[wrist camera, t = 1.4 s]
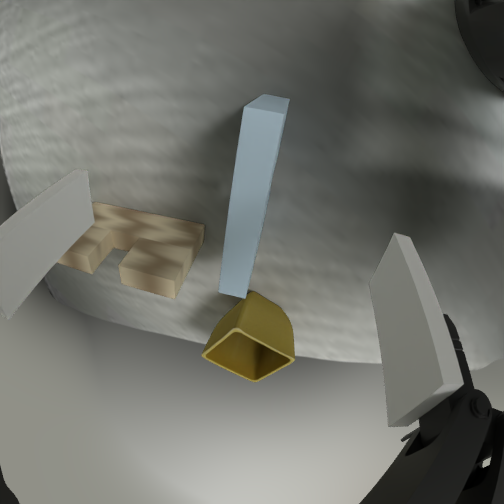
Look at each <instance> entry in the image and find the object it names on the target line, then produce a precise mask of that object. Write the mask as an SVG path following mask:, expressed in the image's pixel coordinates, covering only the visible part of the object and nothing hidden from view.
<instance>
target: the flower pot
mask: <svg viewBox="0 0 504 504" xmlns="http://www.w3.org/2000/svg"><path fill="white" fill-rule="evenodd" d="M201 356H202V357H203V358H205V359H207V360H208V361H210V362H212V363H214V364H216V365H218V366H220V367H222V368H224V369H226V370H228V371H230V372H232V373H235V374H236V375H239V376H241V377H243V378H245V379H247V380H250V381H252V382H258V381H260V380H262V379H264V378H265V377H267V376H269V375H271V374H273V373H274V372H276V371H278V370H280V369H282V368H284V367H286V366H288V365H289V364H291V363H292V362H293V361H295V352H294V337H293V329H292V325H291V322H290V320H289V318H288V317H287V315H286V314H285V312H284V311H283V310H282V309H281V308H280V307H279V306H277V305H276V304H274V303H272V302H271V301H269V300H267V299H266V298H264V297H263V296H261V295H259V294H258V293H256V292H254V291H252V292H250V293H249V294H247V295H246V299H245V298H243V299H242V300H241V301H240V302H239V303H238V304H237V305H236V306H235V307H234V308H232V309H231V310H230V311H229V312H228V313H227V314H226V315H225V316H224V317H223V318H222V319H221V320H220V321H219V323H218V324H217V325H216V327H215V329H214V330H213V332H212V334H211V336H210V338H209V340H208V342H207V344H206V346H205V349H204V350H203V353H202V355H201Z"/></svg>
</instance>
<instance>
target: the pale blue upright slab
mask: <svg viewBox="0 0 504 504" xmlns="http://www.w3.org/2000/svg"><path fill="white" fill-rule="evenodd" d="M289 101H290V99H288V98H283V97H278V96H273V95H267V94H262V95H261V96H259V97H258V98H256V99H255V100H253V101H252V102H250V103H249V104H247V105H246V106H244V110H243V117H242V123H241V129H240V135H239V142H238V148H237V155H236V162H235V168H234V175H233V182H232V189H231V196H230V204H229V211H228V218H227V226H226V234H225V241H224V249H223V257H222V265H221V274H220V282H219V291H218V292H219V293H223V294H227V295H232V296H236V297H240V298H245V299H246V295H247V291H248V287H249V282H250V278H251V274H252V270H253V266H254V262H255V258H256V254H257V250H258V245H259V241H260V237H261V233H262V228H263V223H264V219H265V214H266V209H267V205H268V200H269V195H270V187H271V182H272V177H273V173H274V169H275V165H276V161H277V157H278V153H279V148H280V144H281V139H282V134H283V129H284V125H285V120H286V115H287V110H288V105H289Z"/></svg>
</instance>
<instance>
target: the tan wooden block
mask: <svg viewBox="0 0 504 504" xmlns="http://www.w3.org/2000/svg"><path fill="white" fill-rule="evenodd" d="M92 208H93V215H94V221H95V223H94V224H93V225H92V226H91V227H90V228H89V229H88V230H87V231H86V232H85V233H84V234H83V235H82V236H81V237H80V238H79V239H78V240H77V241H76V242H75V243H74V244H73V245H72V246H71V247H70V248H69V249H68V250H67V251H66V252H65V253H64V255H63V256H62V257H61V258H60V259H59V260H58V261H57V263H60V264H63V265H66V266H69V267H72V268H75V269H77V270H80V271H83V272H86V273H89V274H93V273H94V271H95V270H96V269H97V268H98V266H99V265H100V264H101V263H102V261H103V260H104V259H105V258H106V256H107V255H108V254H109V253H110V251H111V250H112V249H113V248H117V249H121V250H124V251H128V253H127V255H126V256H125V257H124V259H123V260H122V261H121V263H120V264H119V265H118V267H119V272H120V278H121V283H122V284H124V285H127V286H131V287H134V288H137V289H141V290H144V291H147V292H151V293H154V294H158V295H161V296H165V297H169V298H172V299H175V298H176V296H177V294H178V292H179V290H180V288H181V286H182V284H183V282H184V280H185V278H186V276H187V274H188V272H189V270H190V268H191V266H192V264H193V262H194V260H195V258H196V256H197V254H198V252H199V250H200V248H201V246H202V244H203V242H204V229H205V225H204V224H199V223H195V222H190V221H185V220H180V219H176V218H171V217H166V216H161V215H157V214H152V213H147V212H142V211H137V210H132V209H128V208H123V207H118V206H113V205H108V204H103V203H98V202H94V203H93V204H92Z"/></svg>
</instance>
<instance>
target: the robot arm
mask: <svg viewBox="0 0 504 504" xmlns="http://www.w3.org/2000/svg"><path fill="white" fill-rule="evenodd" d="M455 8H456V16H457V21H458V25H459V28H460V31H461V34H462V37H463V40H464V42H465V44H466V46H467V48H468V50H469V52H470V54H471V56H472V58H473V59H474V61H475V62H476V64H477V65H478V67H479V68H480V70H481V71H482V72H483V73H484V75H485V76H486V77H487V78H488V79H489V80H490V81H491V82H492V83H493V84H494V85H495V86H496V87H498V88H499V89H500V90H502V91H503V92H504V0H455ZM94 223H95V221H94V215H93V208H92V201H91V194H90V186H89V177H88V170H80V169H75V170H73V171H72V172H70V173H69V174H67V175H66V176H64V177H63V178H62V179H60V180H59V181H57V182H56V183H54V184H53V185H51V186H50V187H49V188H47V189H46V190H45V191H43V192H42V193H40V194H39V195H38V196H36V197H35V198H34V199H32V200H31V201H30V202H29V203H27V204H26V205H25V206H23V207H22V208H21V209H20V210H18V211H17V212H16V213H15V214H14V215H12V216H11V217H10V218H9V219H8V220H6V221H5V222H4V223H3V224H2V225H1V226H0V315H2V316H3V317H5V318H6V319H8V320H10V318H11V317H12V316H13V314H14V313H15V312H16V310H17V309H18V308H19V306H20V305H21V304H22V303H23V301H24V300H25V299H26V298H27V296H28V295H29V294H30V293H31V291H32V290H33V289H34V288H35V286H36V285H37V284H38V283H39V282H40V281H41V279H42V278H43V277H44V276H45V275H46V273H47V272H48V271H49V270H50V269H51V268H52V267H53V266H54V264H55V263H56V262H57V261H58V260H59V259H60V258H61V257H62V256H63V255H64V253H65V252H66V251H67V250H68V249H69V248H70V247H71V246H72V245H73V244H74V243H75V242H76V241H77V240H78V239H79V238H80V237H81V236H82V235H83V234H84V233H85V232H86V231H87V230H88V229H89V228H90V227H91V226H92V225H93V224H94ZM369 287H370V292H371V297H372V302H373V307H374V313H375V319H376V324H377V330H378V337H379V343H380V350H381V358H382V365H383V374H384V383H385V393H386V403H387V417H388V427H398V426H399V427H401V426H409V425H410V424H412V423H413V422H415V421H416V420H418V419H419V424H420V427H419V428H417V429H416V430H414V431H412V432H411V433H409V434H407V435H406V436H405V437H403V438H402V439H401V441H402V442H403V441H405V440H407V439H409V438H410V439H409V440H408V442H407V443H406V445H405V446H404V448H403V449H402V451H401V452H400V453H399V455H398V456H397V458H396V459H395V460H394V462H393V463H392V464H391V466H390V467H389V468H388V470H387V471H386V472H385V474H384V475H383V476H382V477H381V479H380V480H379V481H378V482H377V484H376V485H375V486H374V487H373V489H372V490H371V491H370V492H369V493H368V494H367V496H366V497H365V498H364V499H363V500H362V501H361V502H360V503H359V504H504V411H503V412H502V411H499V410H496V409H494V408H492V407H491V403H490V401H489V399H488V397H487V396H486V395H485V394H484V393H483V392H482V391H480V390H477V389H474V386H473V382H472V378H471V374H470V371H469V367H468V364H467V360H466V357H465V354H464V352H463V351H462V350H463V348H462V344H461V341H459V339H460V338H459V336H458V333H457V330H456V327H455V325H454V324H453V322H452V321H451V319H450V318H449V317H448V315H446V314H442V311H441V308H440V305H439V303H438V300H437V298H436V295H435V293H434V290H433V288H432V285H431V283H430V280H429V278H428V276H427V273H426V271H425V269H424V266H423V264H422V262H421V260H420V257H419V255H418V253H417V251H416V249H415V247H414V245H413V243H412V241H411V238H410V237H408V236H404V235H401V234H397V233H394V234H393V236H392V238H391V240H390V242H389V245H388V247H387V249H386V251H385V253H384V255H383V257H382V259H381V261H380V263H379V265H378V267H377V269H376V271H375V273H374V275H373V277H372V278H371V280H370V282H369ZM490 457H491V461H490V465H489V466H486V467H484V468H483V467H482V464H483V461H484V460H486V459H488V458H490ZM0 504H19V501H18V499H17V498H16V497H15V495H14V493H12V491H11V490H10V489H9V488H8V487H7V485H6V484H5V481H4V478H3V475H2V471H1V467H0Z"/></svg>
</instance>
